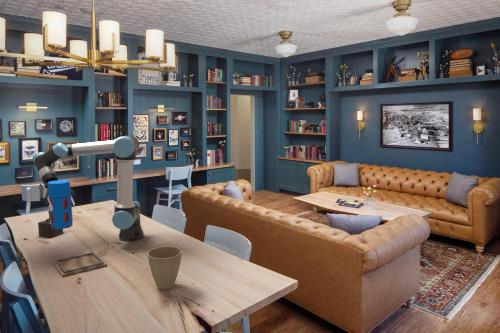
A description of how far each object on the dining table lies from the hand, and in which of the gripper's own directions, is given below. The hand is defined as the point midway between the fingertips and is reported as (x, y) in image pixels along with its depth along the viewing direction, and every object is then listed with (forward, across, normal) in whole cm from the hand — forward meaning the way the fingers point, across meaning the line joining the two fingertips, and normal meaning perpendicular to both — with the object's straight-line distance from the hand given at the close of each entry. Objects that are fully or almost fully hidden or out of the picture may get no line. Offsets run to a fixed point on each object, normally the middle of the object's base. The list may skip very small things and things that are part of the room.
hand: (63, 207), depth 202 cm
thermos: (+6, 0, -10) cm, 12 cm away
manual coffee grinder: (-11, -13, -50) cm, 53 cm away
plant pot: (+71, -10, +33) cm, 79 cm away
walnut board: (+33, +2, -5) cm, 33 cm away
